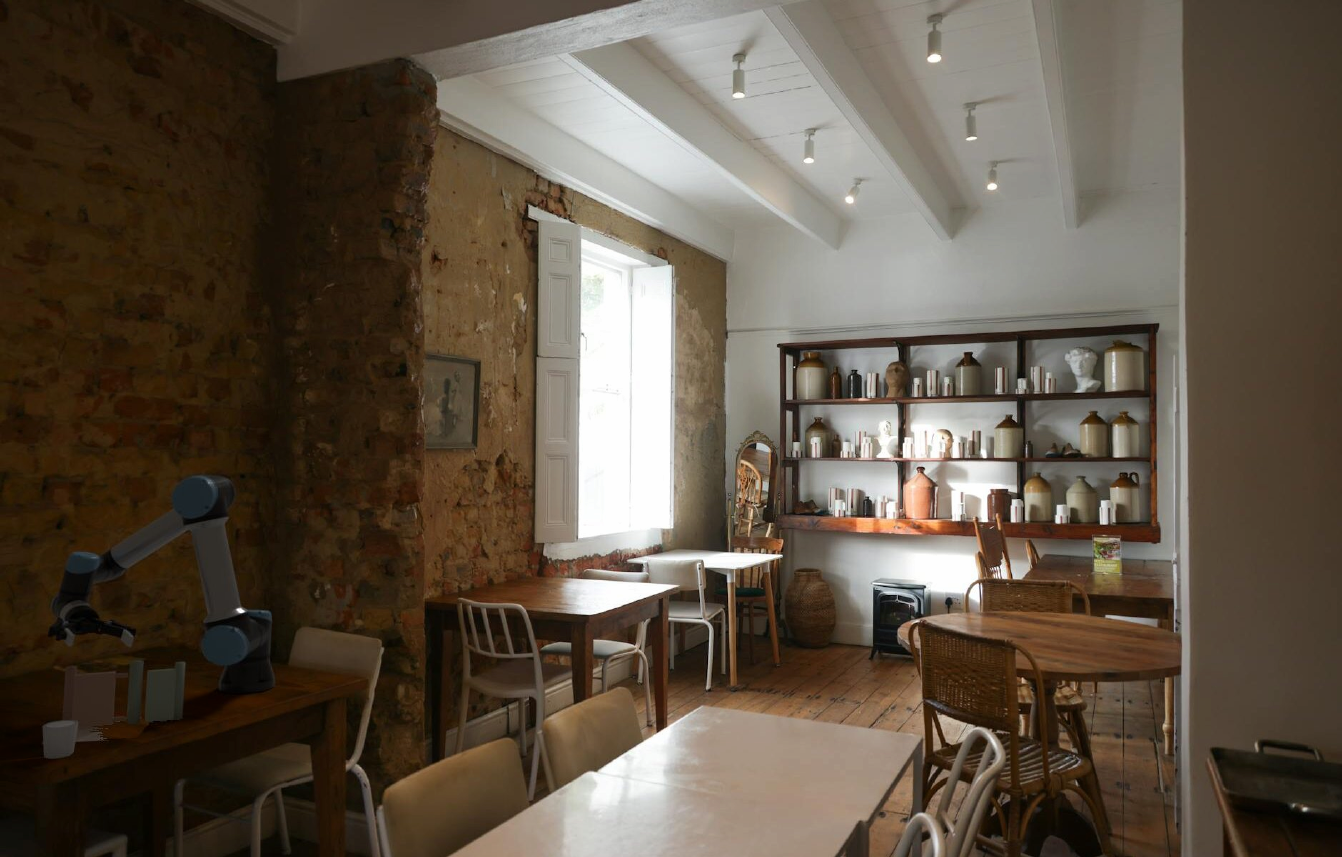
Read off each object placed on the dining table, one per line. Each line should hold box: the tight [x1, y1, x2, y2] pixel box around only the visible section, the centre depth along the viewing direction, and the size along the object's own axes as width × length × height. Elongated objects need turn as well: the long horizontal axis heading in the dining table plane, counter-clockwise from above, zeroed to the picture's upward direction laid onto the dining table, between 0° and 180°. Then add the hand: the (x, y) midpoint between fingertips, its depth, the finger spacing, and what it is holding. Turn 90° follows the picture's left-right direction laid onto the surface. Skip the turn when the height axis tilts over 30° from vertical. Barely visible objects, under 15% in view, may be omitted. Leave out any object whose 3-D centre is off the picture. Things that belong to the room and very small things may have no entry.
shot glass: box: [42, 720, 78, 760], centre depth 203 cm, size 7×7×7 cm
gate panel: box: [62, 665, 129, 728], centre depth 222 cm, size 13×2×15 cm, turn 118°
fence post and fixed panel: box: [126, 659, 186, 724], centre depth 228 cm, size 12×3×16 cm, turn 118°
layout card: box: [41, 727, 108, 745], centre depth 220 cm, size 20×18×1 cm
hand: (102, 641), depth 227 cm, fingers open, 13 cm apart
